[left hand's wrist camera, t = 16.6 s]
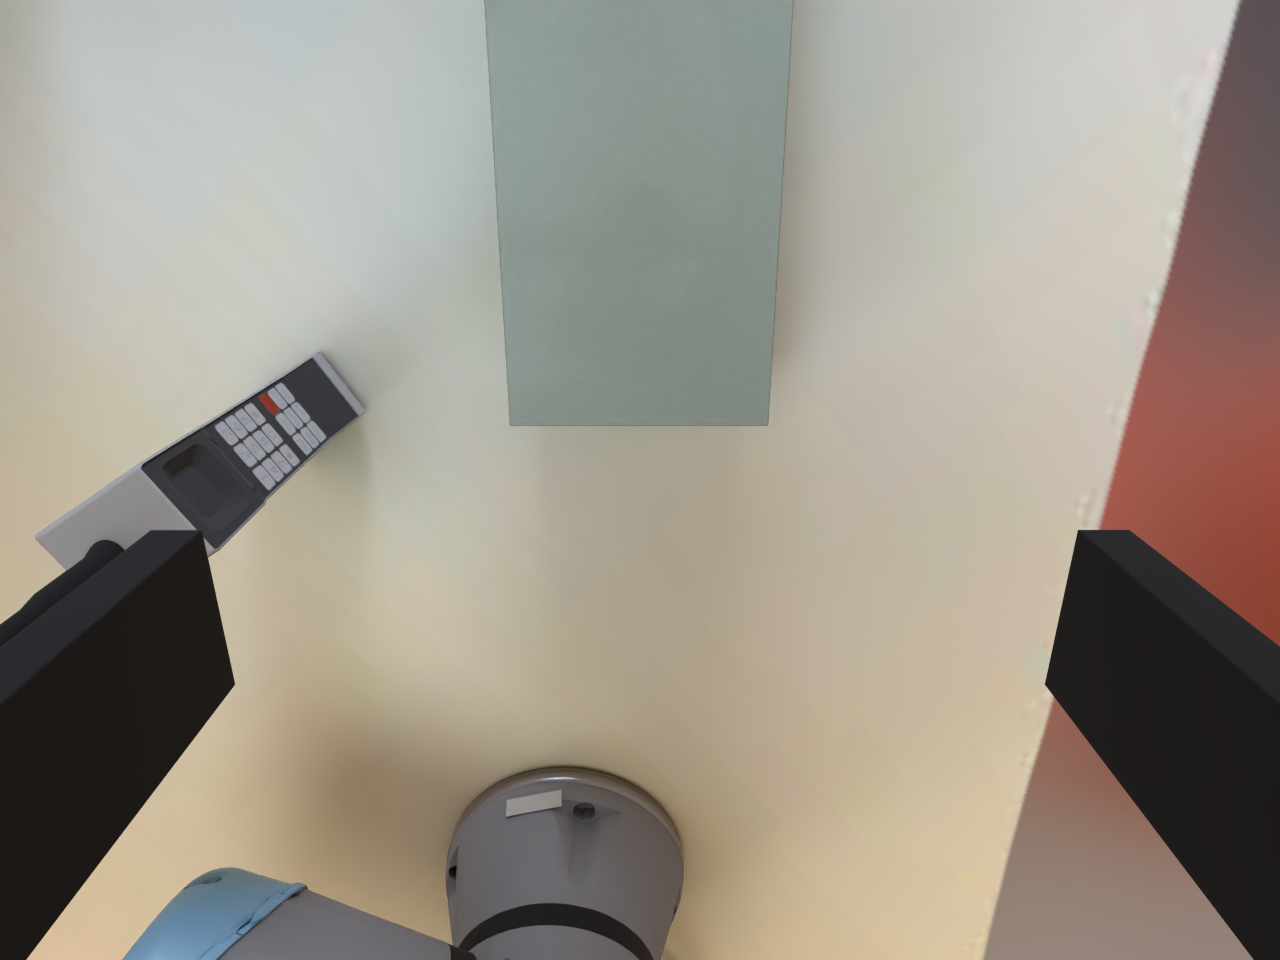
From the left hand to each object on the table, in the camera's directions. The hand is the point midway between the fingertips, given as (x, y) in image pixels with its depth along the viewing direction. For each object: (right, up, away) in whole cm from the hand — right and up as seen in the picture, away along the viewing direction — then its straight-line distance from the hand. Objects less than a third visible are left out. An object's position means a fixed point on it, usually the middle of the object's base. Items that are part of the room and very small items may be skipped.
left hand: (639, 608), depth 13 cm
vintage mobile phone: (-17, +6, +31) cm, 36 cm away
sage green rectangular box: (0, +17, +26) cm, 31 cm away
